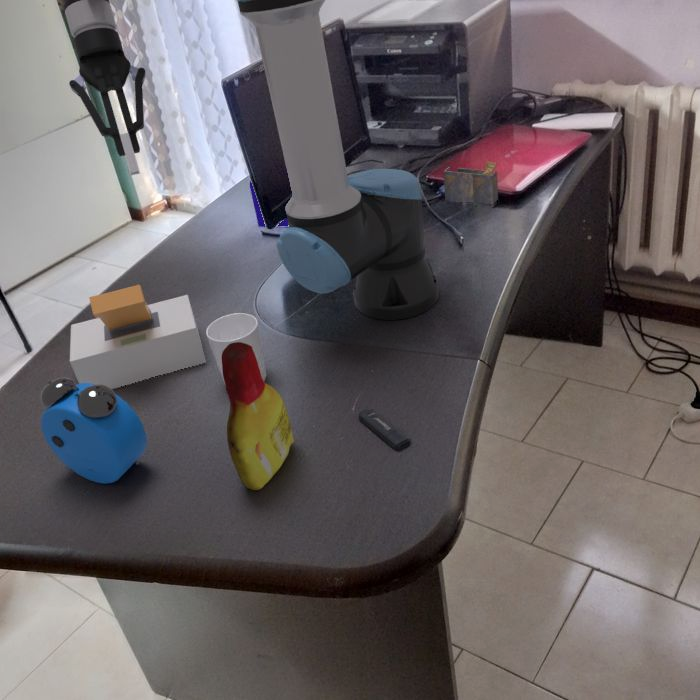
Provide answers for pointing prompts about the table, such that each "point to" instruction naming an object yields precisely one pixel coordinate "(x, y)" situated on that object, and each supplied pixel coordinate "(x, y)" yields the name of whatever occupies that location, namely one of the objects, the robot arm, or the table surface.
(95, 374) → the white socket base
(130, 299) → the lever
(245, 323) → the white cup
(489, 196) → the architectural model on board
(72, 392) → the alarm clock
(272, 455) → the bottle
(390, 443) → the usb stick
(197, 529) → the table surface
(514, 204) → the table surface
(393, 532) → the table surface
